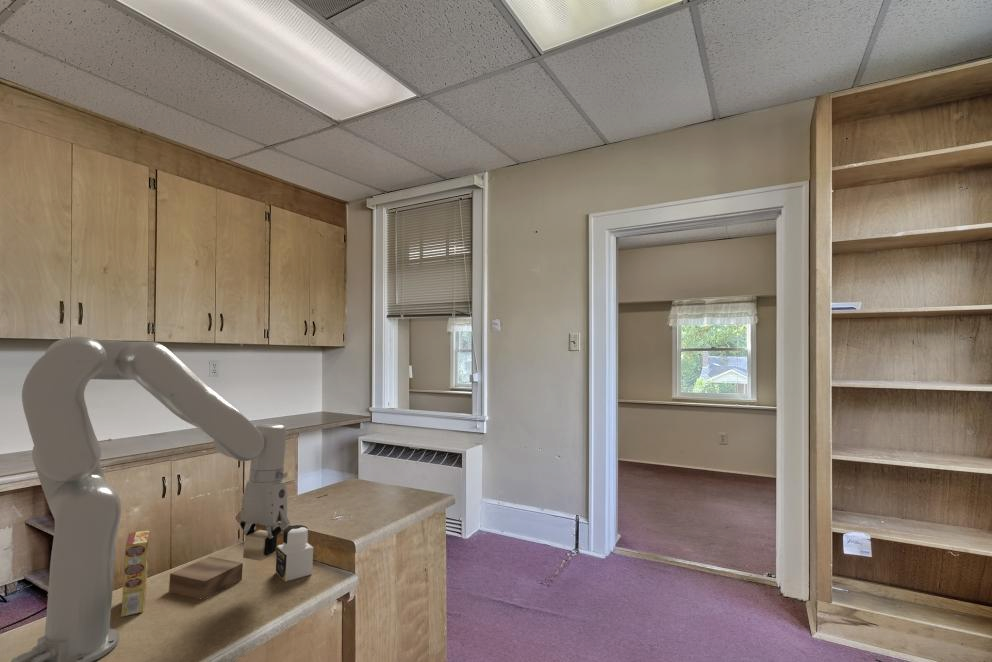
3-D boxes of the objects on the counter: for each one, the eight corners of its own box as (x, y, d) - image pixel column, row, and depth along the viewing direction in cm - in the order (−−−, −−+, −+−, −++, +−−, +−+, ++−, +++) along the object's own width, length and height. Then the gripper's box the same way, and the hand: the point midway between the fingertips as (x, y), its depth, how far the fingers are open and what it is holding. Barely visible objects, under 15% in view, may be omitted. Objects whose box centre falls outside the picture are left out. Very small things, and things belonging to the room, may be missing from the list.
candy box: (143, 613, 106) (148, 541, 107) (119, 618, 104) (124, 545, 105) (146, 596, 114) (150, 529, 115) (123, 600, 111) (128, 532, 112)
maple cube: (260, 560, 114) (262, 538, 114) (243, 557, 115) (245, 536, 116) (275, 553, 119) (277, 532, 119) (258, 550, 120) (259, 529, 121)
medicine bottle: (275, 572, 128) (277, 526, 129) (302, 565, 133) (304, 521, 133) (284, 582, 123) (287, 534, 123) (312, 574, 127) (314, 528, 128)
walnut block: (203, 601, 113) (205, 581, 113) (168, 592, 116) (170, 573, 117) (241, 581, 123) (242, 563, 124) (208, 574, 127) (209, 556, 127)
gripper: (306, 475, 120) (300, 551, 119) (248, 469, 124) (241, 542, 123) (286, 482, 113) (279, 562, 111) (225, 474, 117) (218, 552, 116)
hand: (259, 551), depth 117 cm, fingers closed on maple cube, 5 cm apart
